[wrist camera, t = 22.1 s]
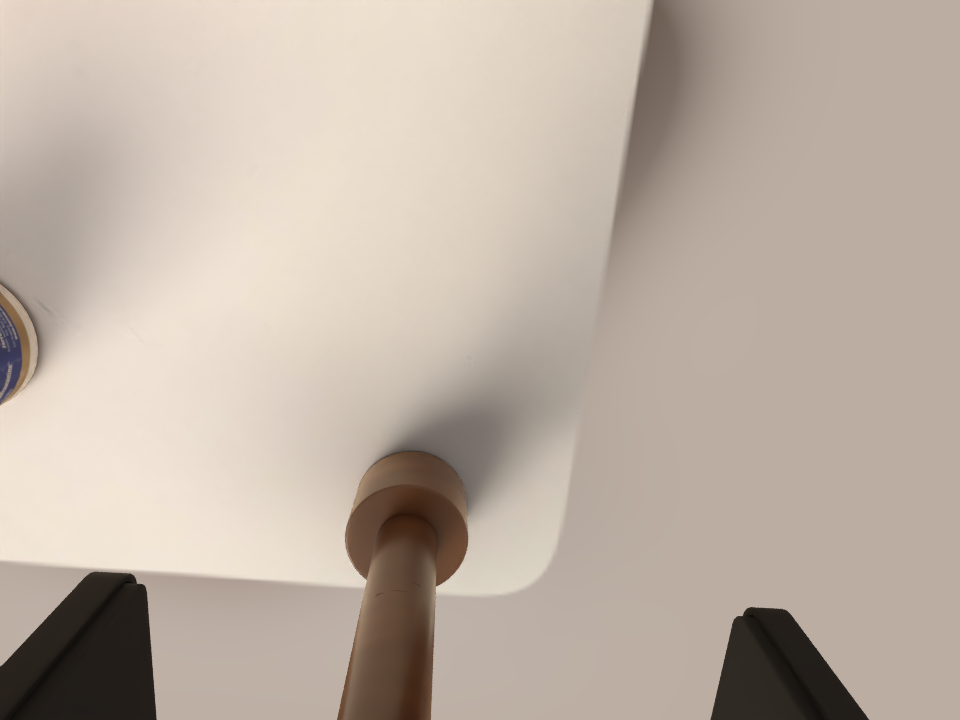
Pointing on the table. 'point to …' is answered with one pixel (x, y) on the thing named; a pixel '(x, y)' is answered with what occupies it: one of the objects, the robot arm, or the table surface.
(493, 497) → the table surface
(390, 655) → the wooden pestle
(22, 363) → the pill bottle
